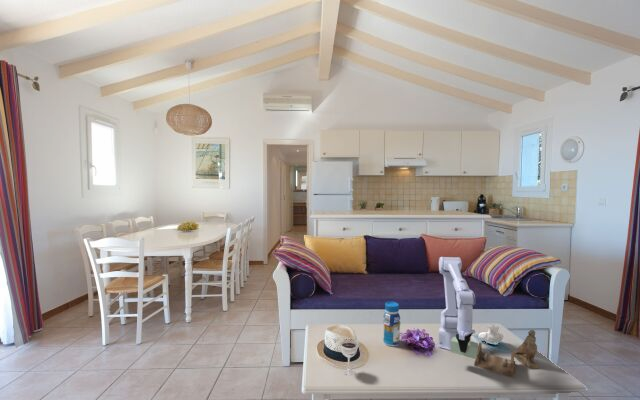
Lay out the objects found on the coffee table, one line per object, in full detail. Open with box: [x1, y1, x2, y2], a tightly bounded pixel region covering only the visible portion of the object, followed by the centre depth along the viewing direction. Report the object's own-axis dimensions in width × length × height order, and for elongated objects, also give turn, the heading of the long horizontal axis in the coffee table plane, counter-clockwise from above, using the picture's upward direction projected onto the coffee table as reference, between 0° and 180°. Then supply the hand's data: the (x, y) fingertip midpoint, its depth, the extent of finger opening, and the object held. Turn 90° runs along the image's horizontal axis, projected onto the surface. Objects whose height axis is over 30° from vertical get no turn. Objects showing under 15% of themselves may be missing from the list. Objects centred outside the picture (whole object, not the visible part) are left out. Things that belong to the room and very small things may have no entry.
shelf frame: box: [473, 341, 516, 378], centre depth 134 cm, size 15×12×6 cm
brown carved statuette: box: [513, 329, 539, 370], centre depth 136 cm, size 12×6×18 cm, turn 176°
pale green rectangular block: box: [450, 337, 479, 360], centre depth 131 cm, size 10×4×5 cm, turn 55°
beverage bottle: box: [382, 301, 401, 347], centre depth 153 cm, size 8×8×20 cm
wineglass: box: [340, 339, 358, 376], centre depth 128 cm, size 7×7×12 cm
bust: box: [477, 324, 504, 343], centre depth 152 cm, size 12×8×11 cm
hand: (464, 349), depth 131 cm, fingers closed on pale green rectangular block, 4 cm apart
